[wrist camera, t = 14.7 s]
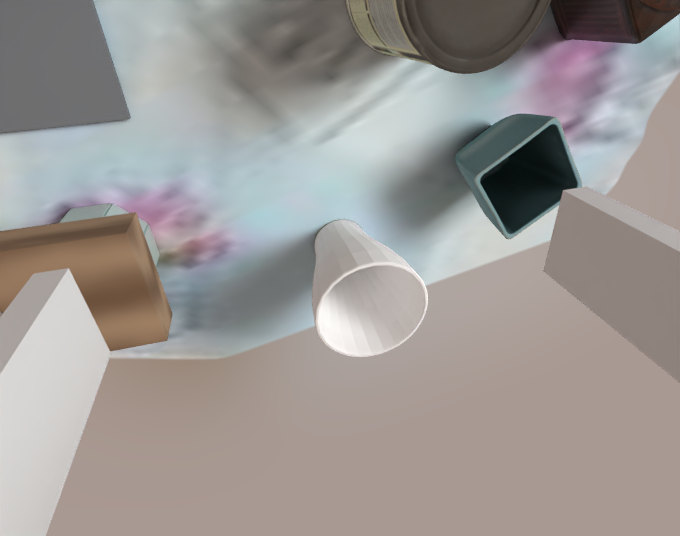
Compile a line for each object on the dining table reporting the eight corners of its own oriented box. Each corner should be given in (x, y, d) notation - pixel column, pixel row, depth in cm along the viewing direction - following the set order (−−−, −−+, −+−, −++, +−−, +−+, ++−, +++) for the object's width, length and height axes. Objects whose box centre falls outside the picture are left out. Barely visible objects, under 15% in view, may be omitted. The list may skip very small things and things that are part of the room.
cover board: (-8, 232, 33) (-35, 256, 30) (136, 212, 35) (125, 233, 31) (52, 335, 39) (35, 365, 36) (172, 313, 41) (167, 340, 37)
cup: (311, 292, 50) (334, 372, 39) (281, 220, 44) (298, 289, 33) (390, 263, 51) (436, 333, 39) (371, 187, 45) (418, 244, 34)
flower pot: (466, 208, 49) (508, 242, 42) (432, 151, 44) (473, 178, 37) (529, 160, 48) (584, 187, 40) (501, 97, 43) (558, 114, 35)
